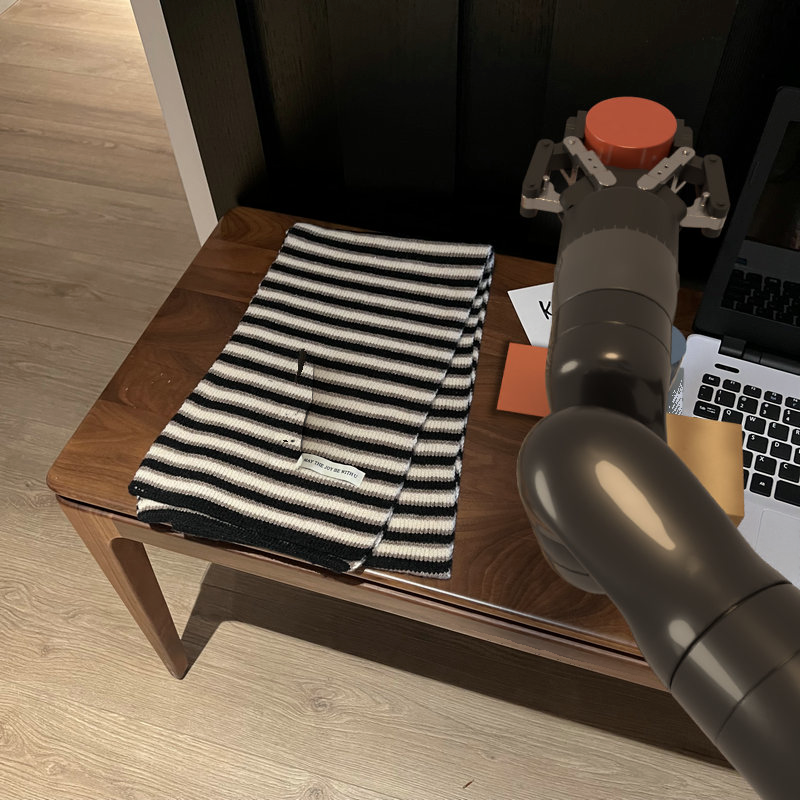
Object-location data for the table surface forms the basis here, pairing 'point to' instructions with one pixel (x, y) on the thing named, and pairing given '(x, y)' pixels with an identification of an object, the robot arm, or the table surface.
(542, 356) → the board
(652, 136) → the orange cylinder
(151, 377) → the table surface
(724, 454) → the stand
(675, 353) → the upturned slate cup
